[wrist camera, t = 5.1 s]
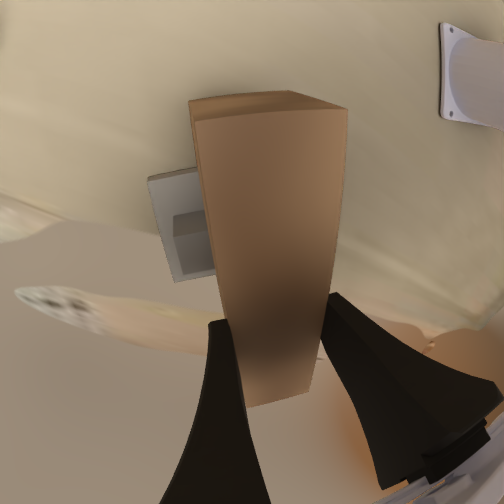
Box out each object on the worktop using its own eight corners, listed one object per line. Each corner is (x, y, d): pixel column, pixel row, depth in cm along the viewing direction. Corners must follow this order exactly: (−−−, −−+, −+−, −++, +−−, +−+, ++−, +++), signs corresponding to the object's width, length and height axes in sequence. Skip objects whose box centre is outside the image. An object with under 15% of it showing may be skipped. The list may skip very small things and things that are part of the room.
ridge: (302, 152, 16) (326, 169, 14) (301, 249, 20) (320, 277, 18) (148, 177, 15) (142, 199, 13) (174, 275, 19) (175, 308, 17)
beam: (288, 90, 9) (347, 109, 6) (286, 337, 18) (308, 391, 15) (188, 100, 9) (194, 121, 5) (231, 350, 17) (246, 408, 14)
